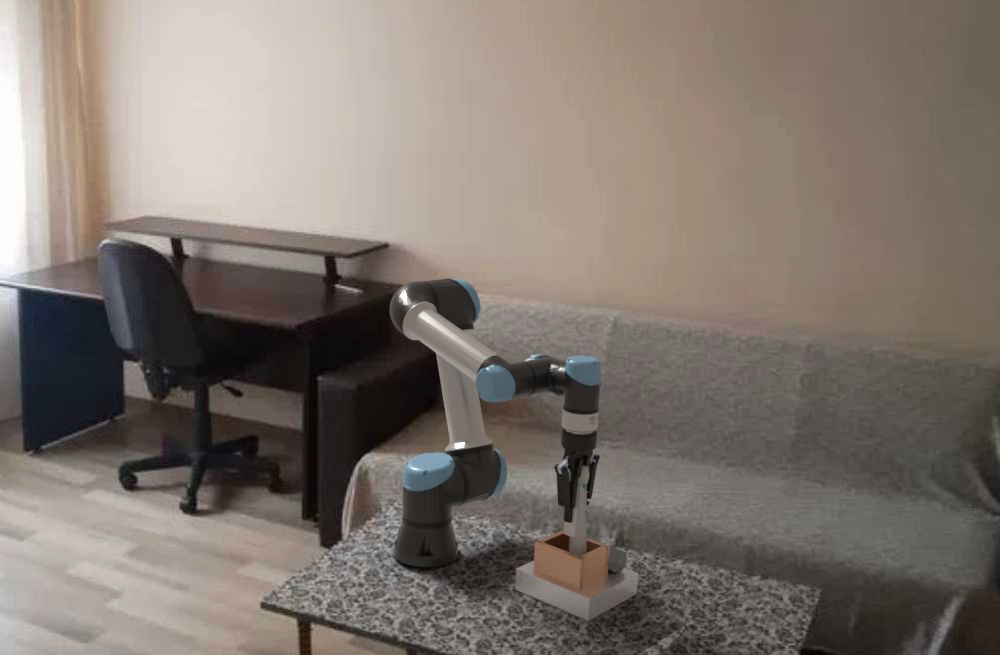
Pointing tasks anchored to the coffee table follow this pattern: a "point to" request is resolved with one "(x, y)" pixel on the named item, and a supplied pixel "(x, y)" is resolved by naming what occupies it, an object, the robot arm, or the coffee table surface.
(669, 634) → the coffee table surface
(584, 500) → the pale grey tall bar
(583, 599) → the open box on base
